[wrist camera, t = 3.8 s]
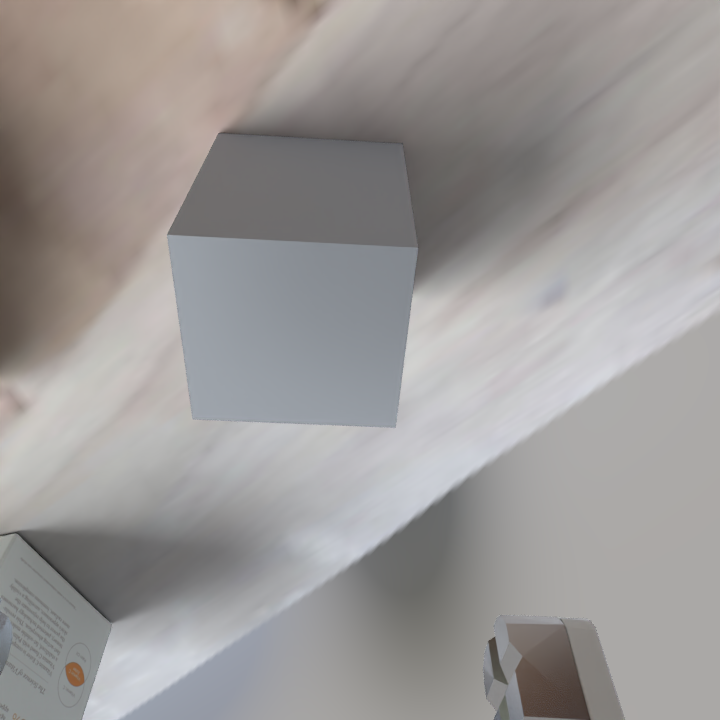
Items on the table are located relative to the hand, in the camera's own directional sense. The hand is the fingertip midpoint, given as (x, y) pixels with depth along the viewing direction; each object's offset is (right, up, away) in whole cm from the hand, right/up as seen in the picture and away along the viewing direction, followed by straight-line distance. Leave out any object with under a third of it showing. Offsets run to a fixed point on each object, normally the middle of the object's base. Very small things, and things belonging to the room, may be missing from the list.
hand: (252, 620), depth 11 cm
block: (0, +8, +8) cm, 12 cm away
